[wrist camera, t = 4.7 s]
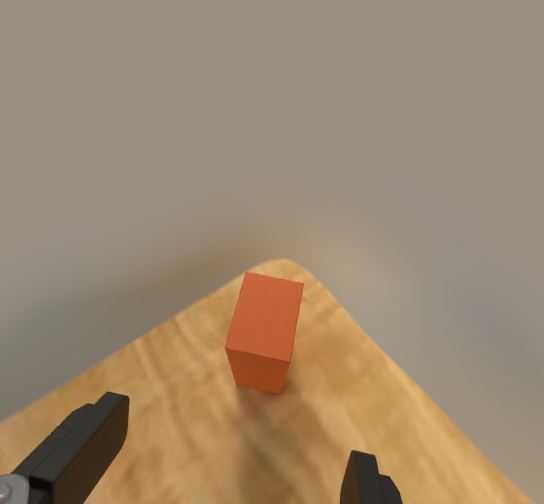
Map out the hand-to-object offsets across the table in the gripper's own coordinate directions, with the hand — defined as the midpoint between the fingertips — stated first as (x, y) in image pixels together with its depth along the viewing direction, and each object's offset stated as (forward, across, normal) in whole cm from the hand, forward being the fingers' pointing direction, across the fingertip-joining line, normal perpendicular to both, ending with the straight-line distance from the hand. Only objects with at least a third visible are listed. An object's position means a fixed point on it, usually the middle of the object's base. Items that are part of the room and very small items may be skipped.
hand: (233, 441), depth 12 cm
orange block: (+12, 0, +4) cm, 12 cm away
